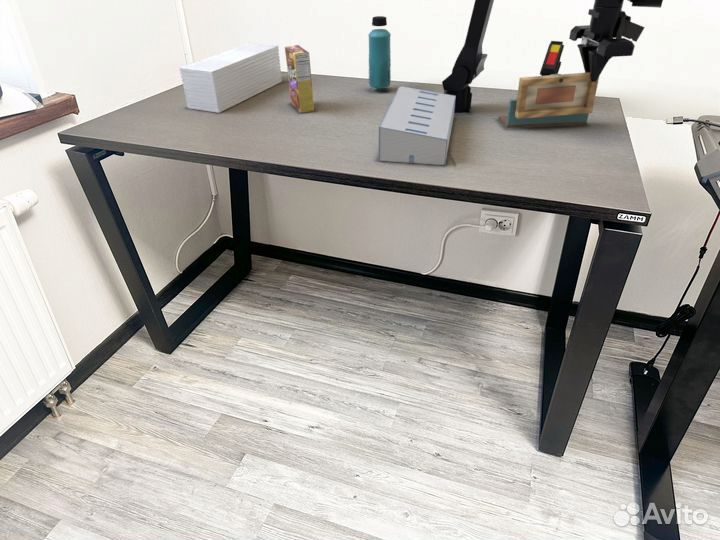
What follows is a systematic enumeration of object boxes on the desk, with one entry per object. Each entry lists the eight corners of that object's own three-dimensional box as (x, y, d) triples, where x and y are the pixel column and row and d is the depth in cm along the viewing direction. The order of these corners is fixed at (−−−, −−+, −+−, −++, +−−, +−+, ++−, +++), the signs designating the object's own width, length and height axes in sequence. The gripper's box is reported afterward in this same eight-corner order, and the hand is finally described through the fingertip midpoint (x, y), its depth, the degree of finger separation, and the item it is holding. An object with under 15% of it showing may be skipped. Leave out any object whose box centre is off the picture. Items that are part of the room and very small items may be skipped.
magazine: (557, 86, 149) (564, 40, 137) (547, 119, 144) (554, 74, 131) (544, 85, 151) (550, 39, 138) (533, 117, 145) (538, 73, 133)
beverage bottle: (390, 93, 152) (392, 18, 141) (368, 93, 152) (367, 19, 141) (390, 86, 158) (391, 14, 146) (368, 87, 158) (367, 14, 146)
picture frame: (517, 119, 123) (522, 80, 118) (514, 116, 125) (519, 77, 119) (592, 113, 124) (600, 74, 118) (588, 110, 125) (595, 71, 120)
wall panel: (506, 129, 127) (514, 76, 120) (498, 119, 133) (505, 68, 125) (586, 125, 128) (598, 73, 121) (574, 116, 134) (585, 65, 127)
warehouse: (445, 165, 110) (448, 130, 106) (378, 160, 113) (378, 126, 109) (453, 117, 134) (456, 88, 130) (398, 115, 137) (399, 85, 132)
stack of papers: (253, 78, 168) (249, 42, 162) (281, 81, 164) (278, 45, 158) (187, 108, 144) (179, 67, 138) (218, 113, 140) (211, 71, 134)
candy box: (289, 104, 146) (284, 46, 137) (304, 101, 147) (299, 44, 138) (299, 113, 139) (294, 53, 130) (314, 111, 140) (310, 51, 132)
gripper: (669, 11, 104) (646, 90, 113) (622, -3, 119) (605, 67, 128) (615, 13, 103) (596, 92, 113) (575, -1, 119) (562, 70, 128)
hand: (591, 80), depth 120 cm, fingers closed on picture frame, 2 cm apart
